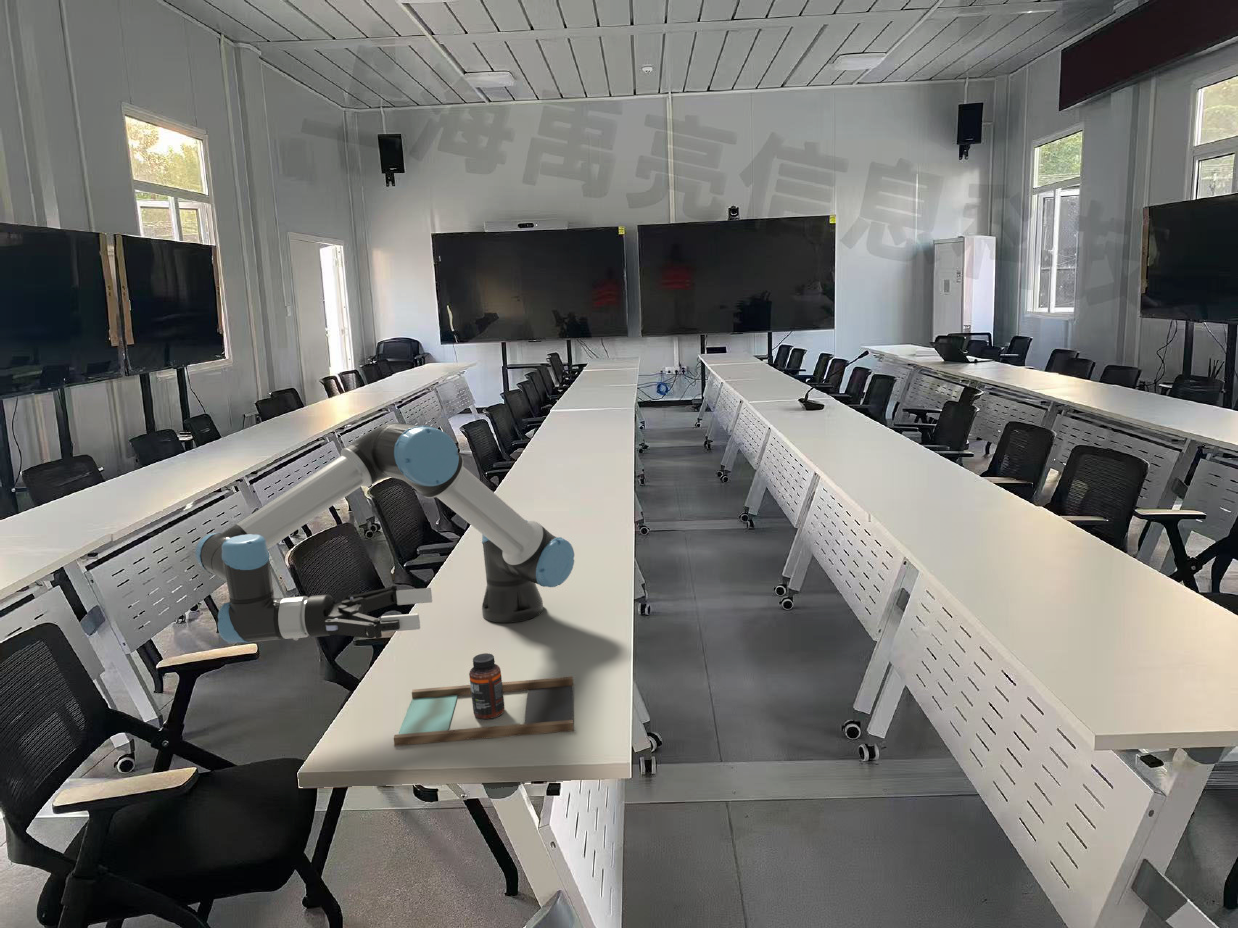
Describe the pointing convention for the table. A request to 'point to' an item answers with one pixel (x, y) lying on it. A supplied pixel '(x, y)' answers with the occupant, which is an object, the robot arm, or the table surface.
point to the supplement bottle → (486, 687)
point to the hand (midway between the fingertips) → (425, 607)
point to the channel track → (434, 713)
